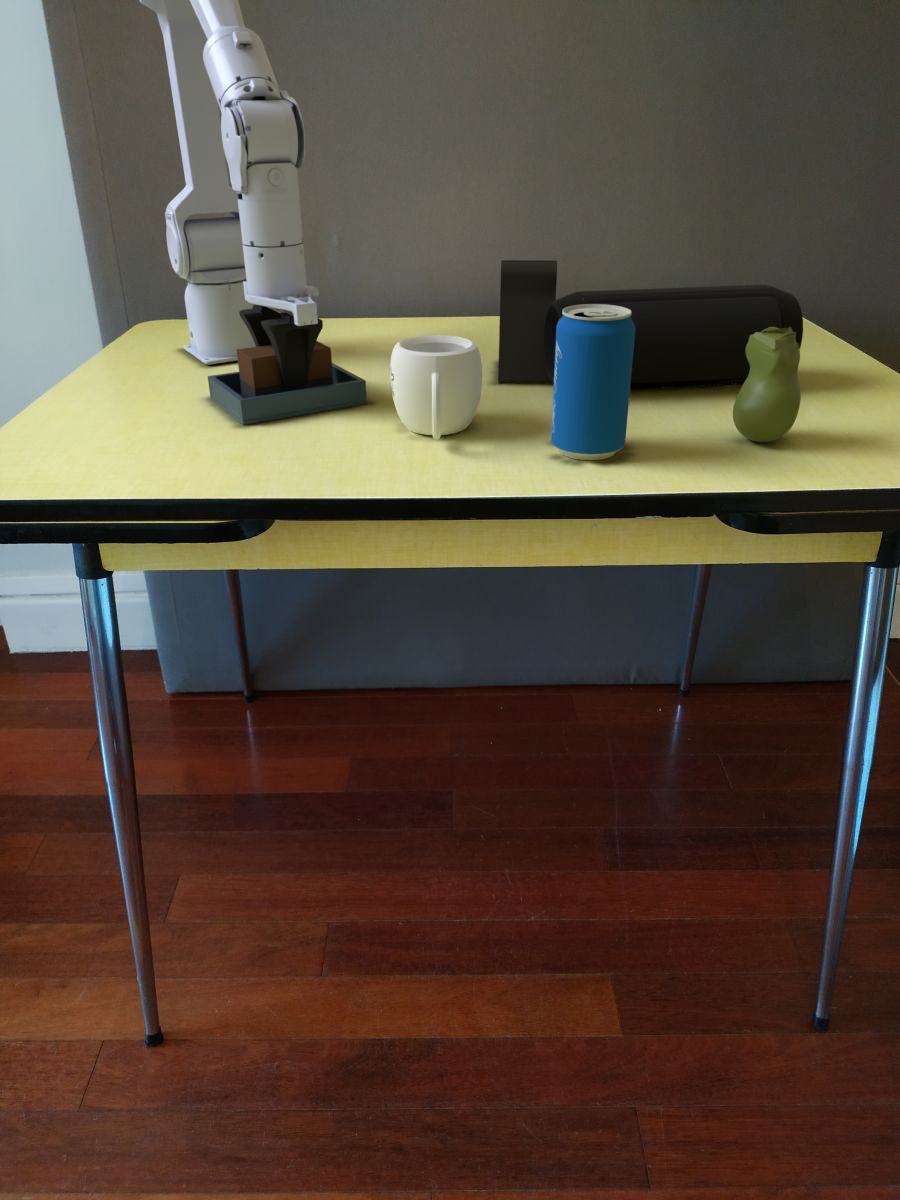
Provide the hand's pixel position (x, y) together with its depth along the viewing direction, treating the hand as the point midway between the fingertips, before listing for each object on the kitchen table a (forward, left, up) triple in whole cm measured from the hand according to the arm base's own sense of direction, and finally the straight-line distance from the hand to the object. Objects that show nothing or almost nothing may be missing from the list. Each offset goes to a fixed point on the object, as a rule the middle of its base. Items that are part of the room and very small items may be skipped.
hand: (286, 384), depth 93 cm
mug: (+17, +8, -2) cm, 19 cm away
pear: (+34, +32, -2) cm, 47 cm away
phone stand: (+4, +27, -2) cm, 27 cm away
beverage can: (+28, +17, -2) cm, 33 cm away
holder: (0, 0, -2) cm, 2 cm away
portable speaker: (+16, +37, -2) cm, 40 cm away
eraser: (0, 0, -1) cm, 1 cm away
